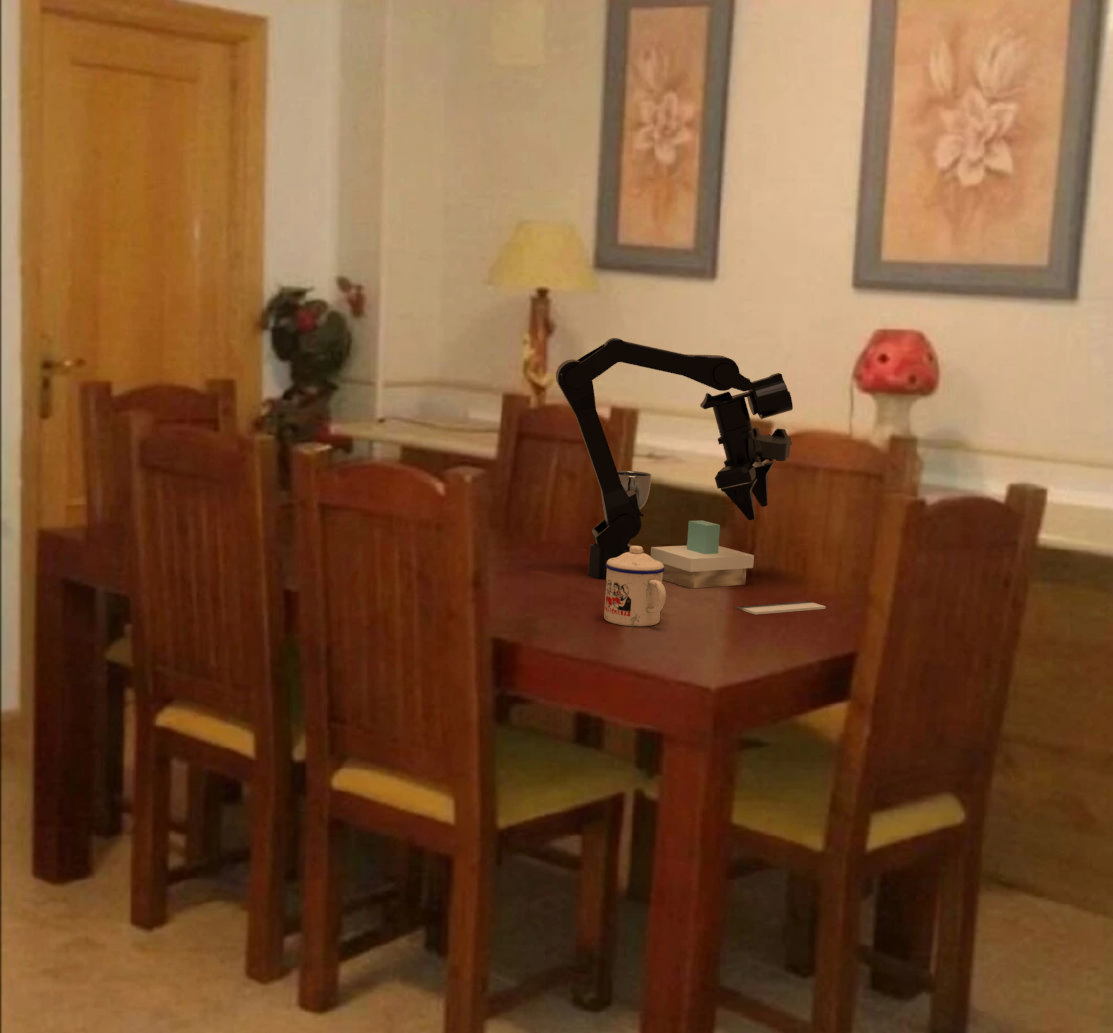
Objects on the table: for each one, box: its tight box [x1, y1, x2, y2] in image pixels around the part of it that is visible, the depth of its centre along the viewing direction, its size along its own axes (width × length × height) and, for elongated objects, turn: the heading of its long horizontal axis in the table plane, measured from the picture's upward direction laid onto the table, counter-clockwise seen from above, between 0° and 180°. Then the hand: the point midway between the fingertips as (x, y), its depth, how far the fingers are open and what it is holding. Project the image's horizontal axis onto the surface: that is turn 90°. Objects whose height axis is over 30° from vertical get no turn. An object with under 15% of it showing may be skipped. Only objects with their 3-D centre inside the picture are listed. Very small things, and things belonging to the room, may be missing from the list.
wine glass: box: [617, 470, 652, 553], centre depth 317 cm, size 8×8×15 cm
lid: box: [649, 519, 755, 572], centre depth 284 cm, size 14×12×7 cm
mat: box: [732, 600, 826, 615], centre depth 272 cm, size 15×14×1 cm
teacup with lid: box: [603, 545, 667, 627], centre depth 251 cm, size 12×9×12 cm
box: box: [662, 564, 747, 589], centre depth 285 cm, size 12×10×5 cm
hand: (758, 512), depth 284 cm, fingers open, 9 cm apart
